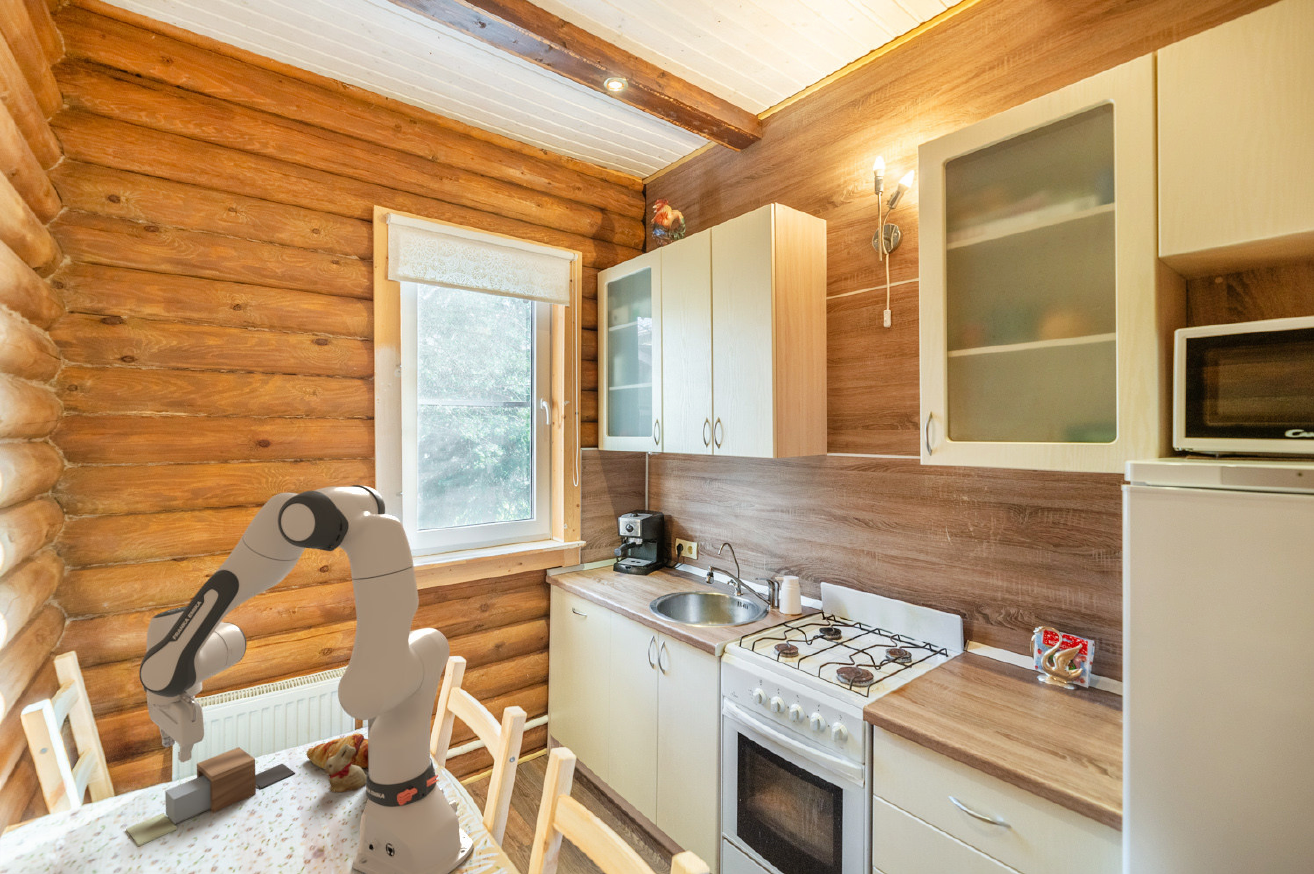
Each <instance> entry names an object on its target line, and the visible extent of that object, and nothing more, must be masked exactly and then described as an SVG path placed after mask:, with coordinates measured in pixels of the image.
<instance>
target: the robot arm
mask: <svg viewBox="0 0 1314 874" xmlns="http://www.w3.org/2000/svg"><path fill="white" fill-rule="evenodd" d="M338 548H339V549H342V550H343V551H344V552H345V553H346V555H347V557H348V560H349V561H348V562H349V564H350V573H351V581H352V587H353V594H354V595H353V596H354V602H355V603H354V604H355V613H356V614H355V615H356V625H355V626H356V627H355V628H356V629H355V637H354V641H353V643H354V644H353V648H352V650H351V651H352V653H351V654H350V655H351V656H350V659H349V662H348V664H347V668H346V669H345V671H344V673H343V675H342V676H341V678H340V681H339V683H338V685H337V696H338V697H337V698H338V702H339V704H340V707H341V709H343V710H344V712H345V713H346V714H347V715H348V716H350V717H351V718H353V719H356V720H359V721H368V720H369V719H372V718H374V717H376V719H375V721H374V723H373V725H372V727H371V729H370V732H369V736H368V735H367V739H368V759H369V771H368V770H367V773H366V784H365V789H366V790H365V792H366V793H365V794H366V797H367V801H366V804H365V807H364V810H363V812H362V814H361V816H360V825H359V838H358V839H359V841H358V851H357V852H356V854H355V855H354V857H353V860H352V866H351V867H352V868H353V869H354V870H356V871H359V872H361V873H363V874H450V873H451V872H452V871H453V870H455V869H456V868H457V867H459V866H460V865H461V864H462V863H464V861H465V860H466V859H467V858H468V857H469V856H470V854H471V852H472V851H473V849H474V840H472V839H471V837H469V835H468V834H467V833H466V832H465V831H464V829H462V828H461V826H460V822H459V818H458V815H457V812H458V805H457V802H456V801H455V800H451V801H448V799H447V797H446V796H445V794H444V790H443V788H442V787H441V788H440V787H439V786H438V784H437V782H438V781H439V779H437V778H438V777H439V774H436V772H435V771H436V770H435V766H434V764H433V760H432V758H431V722H432V717H433V716H432V715H433V711H434V704H435V701H436V697H437V691H438V687H439V684H440V680H441V676H442V674H443V671H444V669H445V667H446V666H447V664H448V661H449V659H450V651H451V650H450V643H449V641H448V638H446V636H445V635H444V634H443V633H442V632H441V631H440V630H438V629H436V628H433V627H423V628H419V629H415V630H411V629H412V624H413V620H414V617H415V615H416V613H417V611H418V608H419V604H420V602H419V601H420V599H419V593H418V592H419V591H418V586H417V579H416V574H415V568H414V567H415V565H414V560H413V555H412V551H411V547H410V543H409V539H408V536H407V534H406V531H405V529H404V525H403V524H402V522H401V521H400V520H399V519H398V518H397V517H396V516H394V515H393V516H392V515H390V514H386V504H385V501H384V499H383V497H382V495H381V494H380V492H379V491H377V490H375V488H372V487H369V486H365V485H361V484H360V485H359V484H358V485H357V484H354V485H348V486H345V485H344V486H343V485H342V486H334V485H333V486H327V487H321V488H318V489H314V490H305V491H303V492H301V493H296V492H281V493H277V494H275V495H273V496H272V497H270V498H269V499H268V500H267V502H265V504H264V505H263V506H262V507H261V508H260V509H259V511H257V513H256V514H255V515H254V517H253V518H252V520H251V521H250V523H249V525H248V526H247V528H246V529H245V531H244V532H243V534H242V535H241V537H240V539H239V541H238V542H237V544H236V545H235V547H234V548H233V550H232V551H231V552H230V554H229V555H228V557H227V558H226V559H225V560H224V562H222V564H221V565H220V566H219V568H217V569H216V571H215V572H214V573H213V574H212V575H211V576H210V577H209V578H208V579H207V580H206V582H205V583H204V584H203V585H202V586H201V588H200V589H199V590H198V591H197V592H196V594H195V595H194V596H193V598H192V599H191V601H190V602H189V603H188V605H186V606H179V607H176V608H175V607H174V608H171V609H168V610H165V611H162V612H159V613H157V614H156V615H154V616H153V617H152V618H151V619H150V621H149V624H148V627H147V632H146V653H145V654H144V656H143V658H142V660H141V662H140V663H141V664H140V667H139V674H138V675H139V680H140V683H141V685H142V688H143V691H144V692H145V694H146V702H147V712H148V715H149V718H150V721H151V722H153V723H154V724H155V725H156V726H157V727H159V728H158V729H159V732H160V736H161V745H162V746H163V747H164V748H169V747H172V746H174V745H175V743H177V744H178V746H179V751H178V752H177V755H178V758H177V759H178V761H179V762H180V763H185V762H189V761H190V760H191V759H192V751H193V749H194V746H195V745H196V744H199V743H200V742H202V741H203V739H204V737H205V724H204V714H203V713H204V712H203V707H202V705H201V703H200V702H199V701H197V699H195V698H196V695H197V694H199V693H200V692H201V691H202V690H203V681H206V680H208V679H210V678H212V677H214V676H216V675H218V674H220V673H222V672H224V671H227V669H230V668H231V667H234V665H237V664H238V663H239V662H240V661H241V660H243V659H244V657H245V654H246V650H247V645H248V644H247V639H246V634H245V633H244V631H243V629H241V628H240V626H238V625H237V624H235V623H233V622H225V621H224V622H223V620H224V618H226V616H227V615H229V613H231V612H232V611H233V610H234V609H236V608H237V607H238V606H240V605H242V604H243V603H245V602H247V601H248V600H250V599H252V598H254V597H255V596H257V595H260V594H261V593H263V592H265V591H267V590H269V589H271V588H273V587H275V586H277V585H278V584H280V583H281V582H282V581H284V579H285V578H286V577H287V576H288V575H289V574H290V573H291V571H292V570H293V569H294V568H295V566H297V563H298V562H299V560H300V559H301V557H302V554H303V553H304V551H305V550H306V549H312V550H315V549H316V550H320V551H326V552H333V551H335V550H336V549H338Z"/></svg>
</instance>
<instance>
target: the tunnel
mask: <svg viewBox="0 0 1314 874" xmlns="http://www.w3.org/2000/svg"><path fill="white" fill-rule="evenodd" d="M295 774H296V773H295V771H294V770H292V769H291V768H289V767H288V766H286V764H284V763H279V764H278V765H276V766H273V767H270V768H268V769H265V770H263V771H262V772H259V773H257V774H256V759H255V758H254V757H253V756H252V755H250V754H249V753H248V752H246V751H245V750H244V749H242V747H239V746H238V747H236V748H233V749H231V750H228V751H225V752H222V753H220V754H218V755H215V756H213V757H209V758H207V759H205V760H203V761H199V762H197V763H196V778H198V777H201V776H203V775H205V776H206V777H208V778H209V779H210V789H211V808H209V809H206V810H204V811H202V812H200V813H197V814H195V815H193V816H191V817H188V818H186V819H184V820H182V821H180V822H177V823H175V824H174V823H173V822H172V821H171V819H170V818H169V817H168V816H167V815H166V813H164V812H163V813H159V814H158V815H155V816H153V817H150V818H148V819H146V820H143V821H142V822H141V821H140V823H139V822H138V823H136V824H134V825H132V826H130V827H128V828H126V832H127V833H128V835H129V836H130V837H131V838H132V840H133V841H134V842H135V844H136V845H137V846H138V847H141V846H143V845H145V844H148V843H150V842H153V841H154V840H156V839H159V838H160V837H162V836H166V835H167V834H170V833H171V832H174V831H176V830H178V826H176V825H177V824H179V823H182V822H184V821H186V820H188V819H189V820H190V818H193V817H195V816H197V815H200V814H202V813H204V812H207V811H209V810H210V812H211V813H212V814H215V813H217V812H220V811H222V810H224V809H225V808H228V807H230V806H232V805H234V804H236V803H239V802H241V801H243V800H244V801H245V799H248V798H250V797H252V796H254V795H257V792H256V791H257V790H256V789H257V788H259V789H261V790H263V789H264V788H267V787H268V786H270V785H273V784H275V783H277V782H281V781H282V780H285V779H286V778H288V777H291V776H293V775H295Z"/></svg>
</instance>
